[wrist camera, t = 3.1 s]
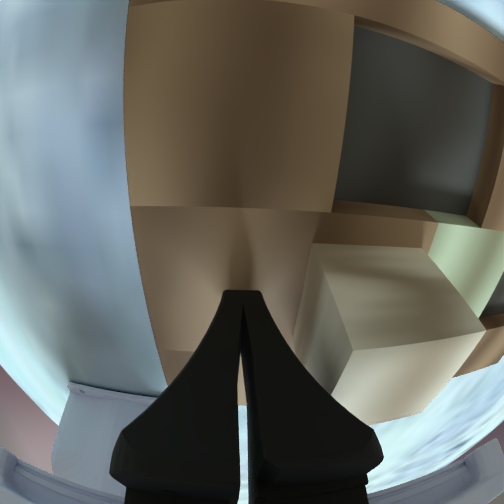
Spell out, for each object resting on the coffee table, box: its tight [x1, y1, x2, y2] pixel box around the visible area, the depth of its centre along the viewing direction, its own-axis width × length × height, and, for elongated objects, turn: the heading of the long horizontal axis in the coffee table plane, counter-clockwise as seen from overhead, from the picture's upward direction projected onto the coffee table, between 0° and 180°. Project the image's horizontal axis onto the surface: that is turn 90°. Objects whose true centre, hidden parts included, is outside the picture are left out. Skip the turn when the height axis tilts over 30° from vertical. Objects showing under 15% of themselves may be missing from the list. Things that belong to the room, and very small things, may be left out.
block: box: [293, 243, 486, 425], centre depth 10 cm, size 5×5×5 cm
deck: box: [123, 0, 504, 405], centre depth 12 cm, size 28×22×2 cm
